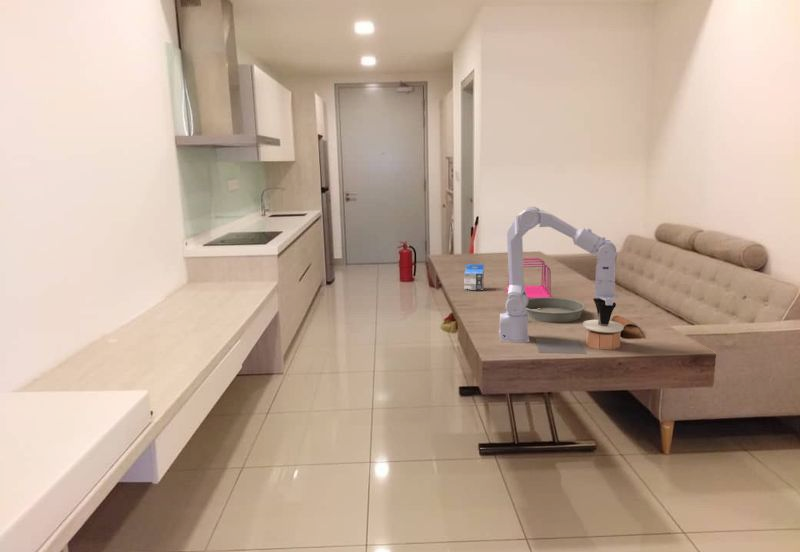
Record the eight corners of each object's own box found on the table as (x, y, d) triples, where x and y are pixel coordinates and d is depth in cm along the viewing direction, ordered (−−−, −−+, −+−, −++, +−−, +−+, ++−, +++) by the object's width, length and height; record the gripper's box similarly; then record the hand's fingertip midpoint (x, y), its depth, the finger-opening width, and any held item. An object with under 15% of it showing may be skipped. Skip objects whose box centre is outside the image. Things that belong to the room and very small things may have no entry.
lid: (586, 332, 170) (587, 318, 170) (579, 321, 182) (580, 308, 181) (627, 333, 169) (628, 319, 168) (618, 322, 180) (618, 309, 180)
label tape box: (464, 290, 264) (463, 265, 262) (465, 289, 268) (465, 263, 265) (482, 291, 261) (482, 265, 259) (484, 289, 265) (483, 264, 262)
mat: (539, 354, 171) (539, 352, 170) (535, 340, 184) (535, 339, 184) (586, 355, 168) (586, 353, 168) (579, 341, 182) (579, 339, 182)
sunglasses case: (647, 338, 182) (637, 321, 182) (627, 348, 184) (617, 331, 183) (635, 324, 199) (626, 308, 199) (617, 333, 201) (607, 317, 201)
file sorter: (511, 301, 240) (511, 265, 237) (506, 289, 264) (506, 256, 261) (552, 301, 238) (553, 265, 235) (543, 289, 262) (544, 256, 259)
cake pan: (521, 323, 206) (521, 311, 205) (517, 307, 229) (517, 296, 229) (590, 324, 202) (591, 312, 201) (579, 307, 226) (579, 297, 225)
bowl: (589, 350, 173) (590, 334, 172) (584, 341, 182) (584, 326, 181) (622, 351, 171) (622, 335, 170) (615, 341, 180) (615, 326, 180)
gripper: (624, 284, 165) (622, 328, 167) (613, 275, 179) (611, 316, 182) (599, 284, 166) (597, 328, 169) (590, 275, 180) (589, 316, 183)
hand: (603, 322), depth 175 cm, fingers closed on lid, 3 cm apart
